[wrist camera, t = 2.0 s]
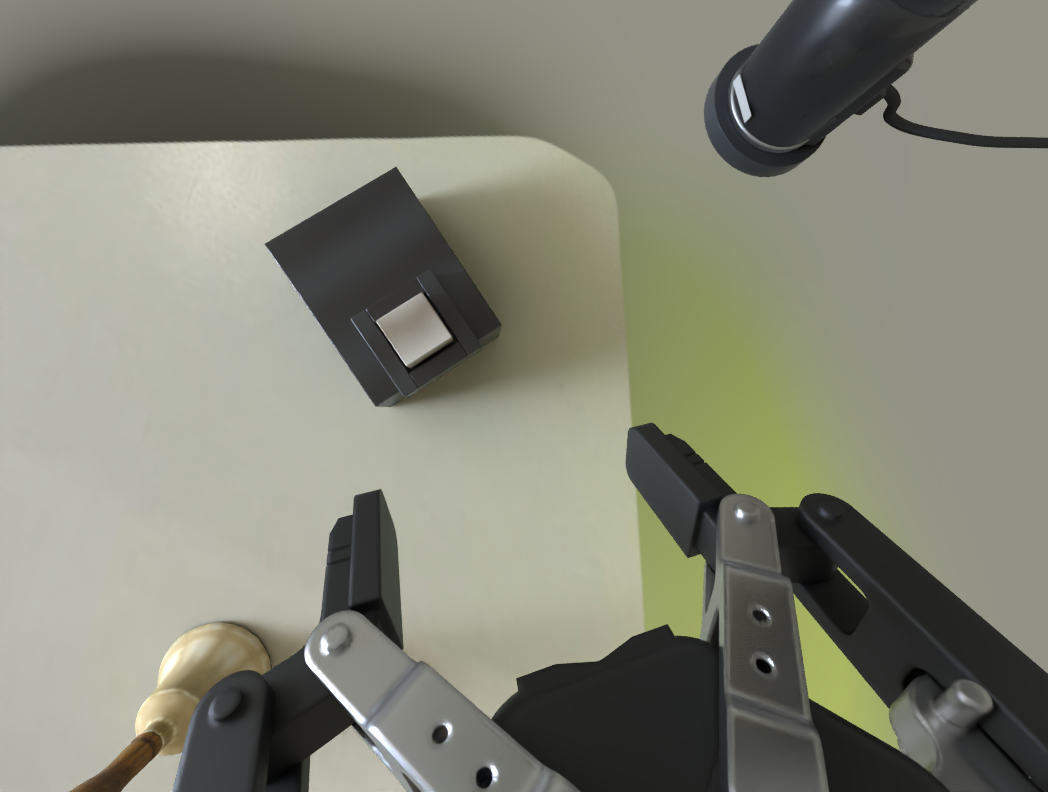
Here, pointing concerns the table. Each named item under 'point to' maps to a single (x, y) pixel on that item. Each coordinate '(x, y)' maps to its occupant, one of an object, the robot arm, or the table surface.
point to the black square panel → (383, 284)
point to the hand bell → (181, 696)
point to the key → (415, 330)
